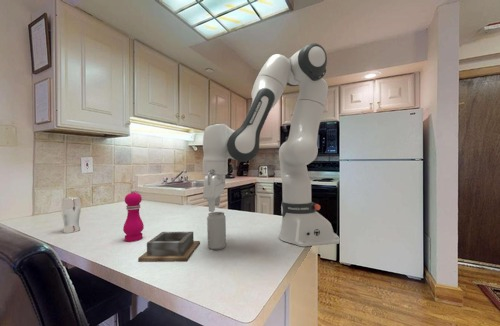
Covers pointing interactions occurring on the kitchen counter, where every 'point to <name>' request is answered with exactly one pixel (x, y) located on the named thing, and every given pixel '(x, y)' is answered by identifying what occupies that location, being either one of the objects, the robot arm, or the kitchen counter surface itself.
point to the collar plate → (170, 247)
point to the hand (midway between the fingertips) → (214, 208)
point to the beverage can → (216, 230)
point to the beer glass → (71, 214)
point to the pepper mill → (133, 217)
